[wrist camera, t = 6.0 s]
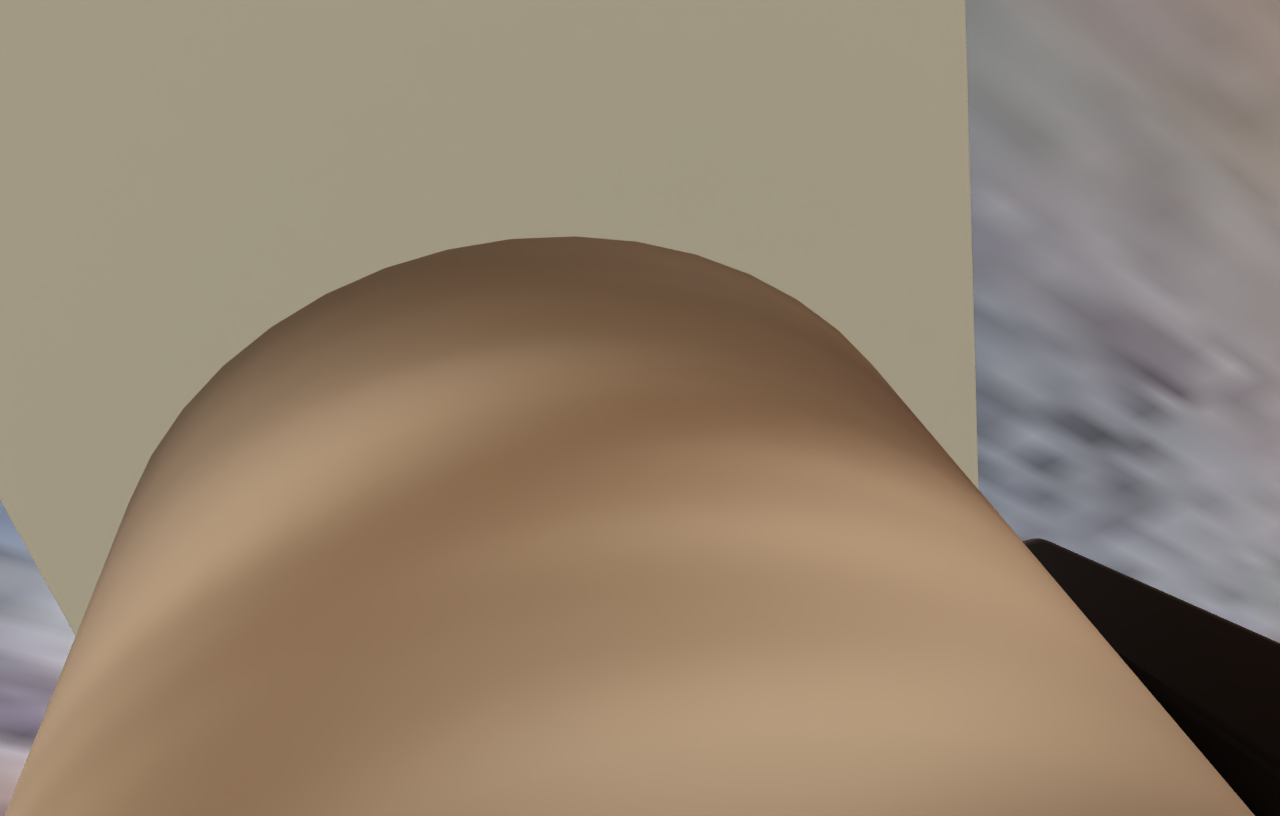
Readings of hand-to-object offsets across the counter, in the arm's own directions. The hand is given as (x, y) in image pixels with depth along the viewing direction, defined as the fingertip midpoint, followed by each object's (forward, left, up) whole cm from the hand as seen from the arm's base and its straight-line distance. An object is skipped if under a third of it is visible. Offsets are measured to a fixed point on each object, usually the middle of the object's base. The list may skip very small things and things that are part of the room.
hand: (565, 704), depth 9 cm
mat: (0, 0, -6) cm, 6 cm away
